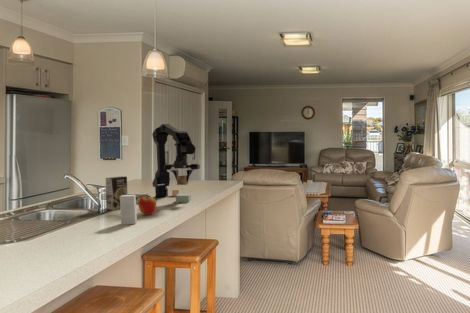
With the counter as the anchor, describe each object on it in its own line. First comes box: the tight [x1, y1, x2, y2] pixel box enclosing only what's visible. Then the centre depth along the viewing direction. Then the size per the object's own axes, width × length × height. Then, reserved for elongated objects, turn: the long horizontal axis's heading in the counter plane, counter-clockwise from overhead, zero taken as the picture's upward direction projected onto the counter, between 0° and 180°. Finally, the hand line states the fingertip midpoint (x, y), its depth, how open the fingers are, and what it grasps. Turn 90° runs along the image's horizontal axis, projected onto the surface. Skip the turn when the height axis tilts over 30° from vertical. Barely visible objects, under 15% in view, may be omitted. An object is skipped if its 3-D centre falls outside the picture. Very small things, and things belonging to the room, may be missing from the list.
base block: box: [175, 193, 192, 204], centre depth 249 cm, size 7×7×4 cm
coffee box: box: [105, 176, 129, 211], centre depth 232 cm, size 9×6×16 cm
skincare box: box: [119, 194, 138, 226], centre depth 191 cm, size 6×4×12 cm
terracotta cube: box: [171, 188, 180, 197], centre depth 272 cm, size 4×4×4 cm
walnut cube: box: [176, 174, 189, 186], centre depth 248 cm, size 5×5×5 cm
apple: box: [138, 193, 157, 215], centre depth 211 cm, size 8×8×10 cm
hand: (182, 182), depth 248 cm, fingers closed on walnut cube, 5 cm apart
